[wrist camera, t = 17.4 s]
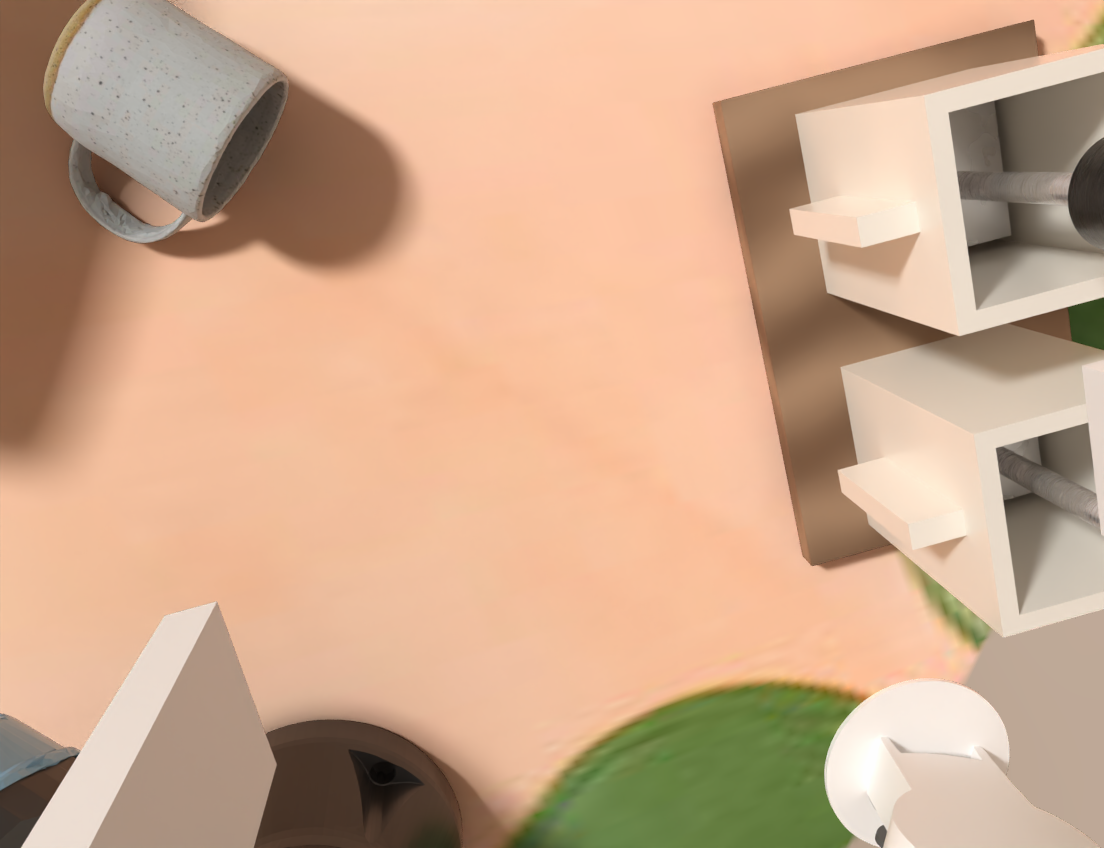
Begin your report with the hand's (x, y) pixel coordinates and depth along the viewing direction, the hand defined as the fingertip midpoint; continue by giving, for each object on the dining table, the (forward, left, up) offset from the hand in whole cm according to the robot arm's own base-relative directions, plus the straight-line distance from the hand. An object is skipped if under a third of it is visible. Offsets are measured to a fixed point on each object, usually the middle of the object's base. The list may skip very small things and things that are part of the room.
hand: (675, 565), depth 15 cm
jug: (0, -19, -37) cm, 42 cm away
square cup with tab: (-13, -19, -37) cm, 44 cm away
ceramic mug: (+11, +13, -39) cm, 43 cm away
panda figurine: (-34, -16, -39) cm, 54 cm away
